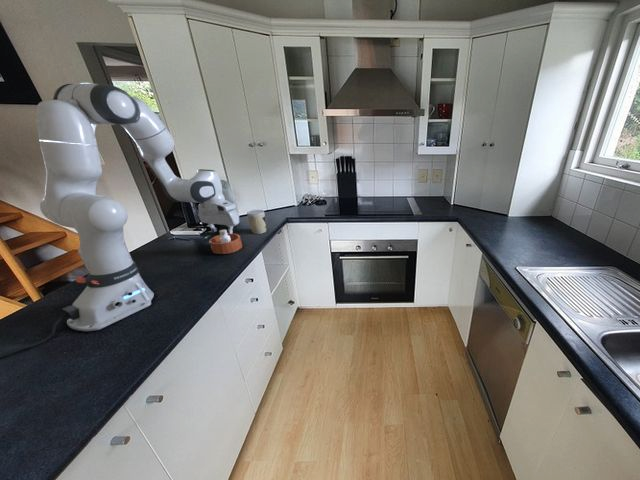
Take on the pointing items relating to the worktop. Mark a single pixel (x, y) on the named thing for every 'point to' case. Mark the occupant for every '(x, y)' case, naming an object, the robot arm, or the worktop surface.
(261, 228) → the coffee cup
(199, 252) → the worktop surface
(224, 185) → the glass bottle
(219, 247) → the bowl
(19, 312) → the worktop surface
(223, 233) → the pepper shaker
